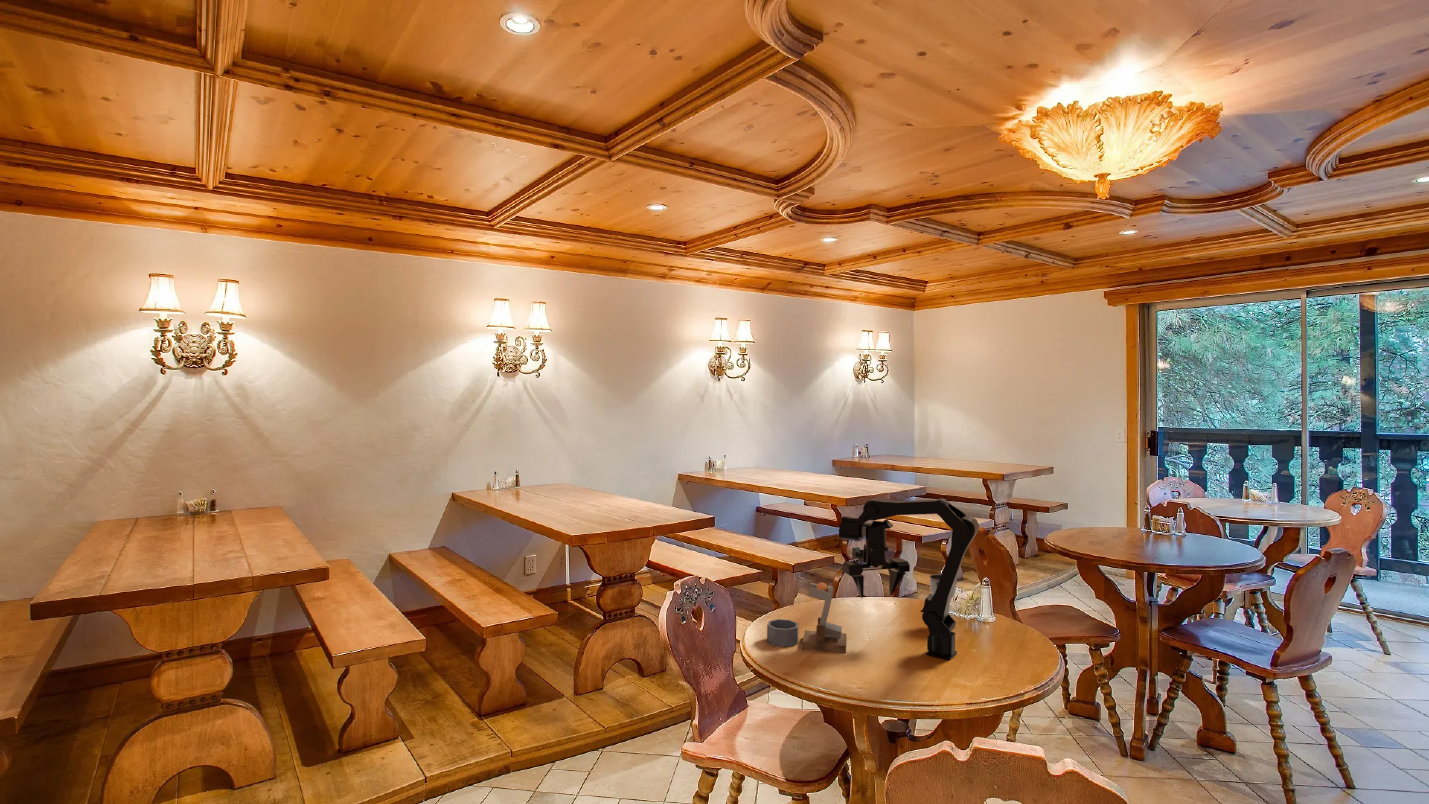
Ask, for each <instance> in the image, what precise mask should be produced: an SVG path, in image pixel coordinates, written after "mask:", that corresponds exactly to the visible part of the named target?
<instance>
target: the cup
mask: <svg viewBox="0 0 1429 804" xmlns="http://www.w3.org/2000/svg"><path fill="white" fill-rule="evenodd" d="M799 625H800V624H799V623H798V622H796V621H794V620H792V619H784V618H783V619H782V618H777V619H772V620H768V622H767V625H766V627H767V628H766V641H767V642H768V644H770V645H772V646H775V647H779V648H787V647H790V648H791V647H794V646H796V645H797V644H799V627H800V626H799Z"/></svg>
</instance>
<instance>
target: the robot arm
mask: <svg viewBox="0 0 1429 804" xmlns="http://www.w3.org/2000/svg"><path fill="white" fill-rule="evenodd" d="M910 515H911V516H912V515H914V516H915V515H916V516H917V515H938V517H940V518H941V520H942V521H943V522H944V523H945V524H946V525H947V526H948V527H949V528H950V529H952V530H951V531H952V533H951V537H950V538H951V539H950V541H951V542H950V543H951V544H950V549H949V553H948V555H947V557H946V560H945V563H944V566H943V569H942V572H941V574H942V575H941V577H940V580H939V583H938V586H937V589H936V592H935V594H934V595H932V593H931V592H930V593H929V594H928V595H927V596H926V598H925V599H924V604H923V607H922V609H921V610H920V613H922V614H921V620H922V621H923V623H924V625H925V626H927V628H928V629H927V630H928V632H929V633H928V635H927V639H926V641H927V642H926V643H927V644H926V646H927V647H926V650H927V652H926V655H927V656H932V657H936V658H940V659H944V660H949V661H951V660H952V659H953V657H955V656H956V655H957V654H958V651H956V632H954V631H953V630H954V629H955V628H956V624H957V622H956V621H955V619H954V618H953V617H952V615H950V614H949V610H950V603H951V602H950V601H951V600H950V594H951V592H952V589H953V586H954V583H955V580H956V578H957V577H958V574H959V571H960V569H961V566H962V562H963V561H964V557H965V555H966V552H967V550H968V548H969V546H970V545H971V544H972V542H973V540H974V539H975V537H976V535H977V534H978V532H979V530H980V523H979V522H978V520H977V519H976V518H975V517H974V516H972V515H967V514H966V513H965V512H963V511H962V510H960V509H959V508H957V507H956V506H955V505H953V504H951V502H950V501H948V500H947V499H946V498H938V499H920V500H919V499H917V500H916V499H915V500H895V499H894V500H893V499H890V498H882V497H874V498H872V499H870V500H867V501H866V502H865V504H864V505H863V507H862V512H861V514H860V515H859V516H858V517H851V516H847V515H843V516H842V517H841V521H840V522H839V523H840V524H839V528H838V536H839V539H840V540H845V541H846V540H847V541H855V542H856V541H857V542H861V540H862V539H864V538H865V544H863V549H861V547H860V546H858V547H852V548H851V556H852V559H853V560H852V561H851V560H850V561H844V562H843V563H842V564H841V567H842V568H841V569H842V570H841V571H842V572H844V573H845V574H846V575H848V576H849V577H851V578H852V581H854V584H855V587H856V589H857V592H858V595H859V598H861V599H863V598H864V588H865V587H864V586H865V585H864V583H865V582H864V581H865V580H864V579H865V577H864V575H863V573H864V572H865V571H877V570H888V575H889V585H888V586H889V587H888V589H889V596H891V597H893V595H894V593H895V591H896V589H897V587H898V585H899V583H900V581H901V580H902V578H903V576H906V575H907V573H910V571H911V566H910V565H911V564H910V563H909V561H907V560H905V559H903V558H901V557H896V558H895V557H894V558H890V559H889V560H887V552H888V551H889V547H888V546H887V530H889V529H891V528H893V527H894V524H893V523H891V522H890V521H889V519H888V518H891V517H895V516H910ZM880 520H881V521H880ZM882 520H883V521H882ZM869 521H872V522H871V523H869ZM856 560H858V561H856ZM906 572H907V573H906ZM957 579H958V578H957Z"/></svg>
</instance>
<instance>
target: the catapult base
mask: <svg viewBox="0 0 1429 804" xmlns="http://www.w3.org/2000/svg"><path fill="white" fill-rule="evenodd" d="M820 620H821V617H817V625H816V629H815V630H816V631H815V630H804V633H803V634H804V635H803V639H802V645H801V646H802V647H801V648H802V650H804V651H816V652H817V651H818V652H827V653H828V652H831V653H839V654H840V653H842V654H846V653H847V640H848V639H847V633H843V632H842V633H841V637H840V639H838V638H834V637H831V636H827V635H825V626H819V623H820Z"/></svg>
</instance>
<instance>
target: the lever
mask: <svg viewBox="0 0 1429 804" xmlns="http://www.w3.org/2000/svg"><path fill="white" fill-rule="evenodd" d="M817 585H818V583H813V582H810V585H809V589H808V594H807V596H808V597H811V598H814V599H819V600H822V601H824V602H823V603H824V604H823V608H822V612H821V616H820V618H821V620H820V623H819V626H825V635H827V636H831V637H834V638H838V639H840V637H841V633H843V632H842V629H843V626H841V625H837V624H834V623H831V622H828V618H829V617H828V616H829V612H830V609H831V608H830V607H831V604H832V601H833V596H834V589H835V587H834V586H832V585H827V587H828V590H827V592H826V591H823V590H819V589H816V588H817Z"/></svg>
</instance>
